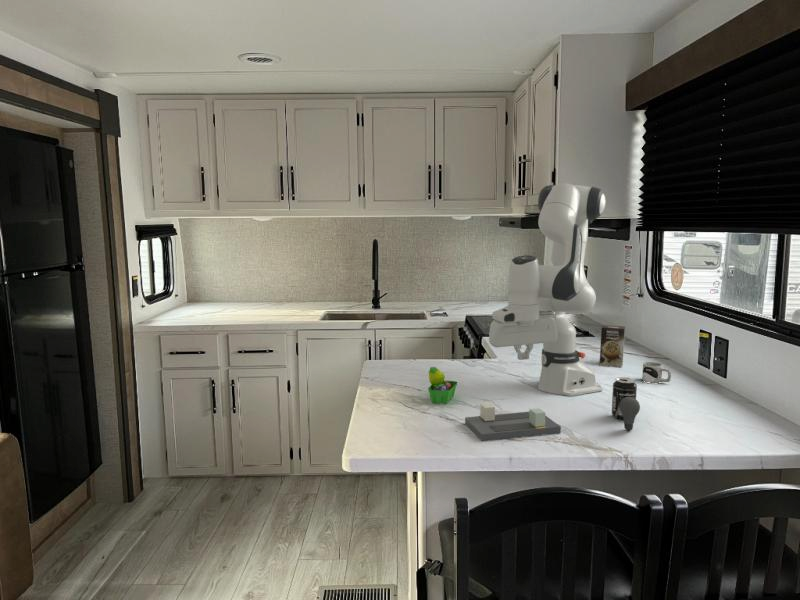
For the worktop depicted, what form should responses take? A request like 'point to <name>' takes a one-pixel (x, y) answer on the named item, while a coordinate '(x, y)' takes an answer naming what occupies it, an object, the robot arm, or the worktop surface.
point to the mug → (654, 372)
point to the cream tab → (487, 412)
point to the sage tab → (537, 417)
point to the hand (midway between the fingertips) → (523, 359)
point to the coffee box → (612, 346)
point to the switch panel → (509, 426)
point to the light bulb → (629, 411)
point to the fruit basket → (440, 387)
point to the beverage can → (622, 394)
